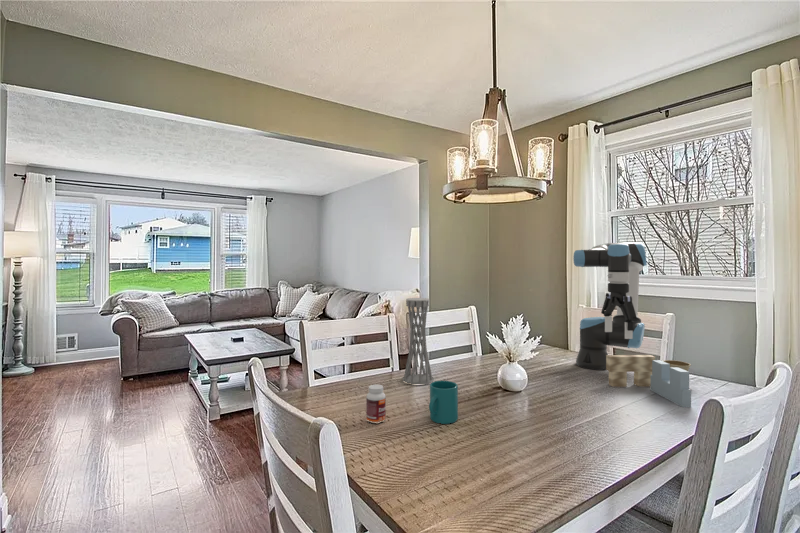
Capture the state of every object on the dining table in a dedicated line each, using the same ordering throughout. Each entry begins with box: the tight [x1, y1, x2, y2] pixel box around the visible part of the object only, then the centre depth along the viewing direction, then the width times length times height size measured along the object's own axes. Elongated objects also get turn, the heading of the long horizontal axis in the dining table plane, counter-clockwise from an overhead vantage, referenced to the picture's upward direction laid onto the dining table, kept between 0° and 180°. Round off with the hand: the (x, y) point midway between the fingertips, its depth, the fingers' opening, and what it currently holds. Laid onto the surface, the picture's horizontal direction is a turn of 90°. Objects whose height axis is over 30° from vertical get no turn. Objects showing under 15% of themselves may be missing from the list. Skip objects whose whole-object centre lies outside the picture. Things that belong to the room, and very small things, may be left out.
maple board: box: [605, 354, 656, 388], centre depth 163 cm, size 18×3×12 cm, turn 89°
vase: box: [401, 297, 435, 385], centre depth 171 cm, size 14×13×35 cm
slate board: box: [650, 359, 692, 408], centre depth 148 cm, size 18×3×12 cm, turn 179°
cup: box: [428, 380, 459, 425], centre depth 129 cm, size 9×12×11 cm
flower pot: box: [662, 359, 692, 372], centre depth 165 cm, size 9×9×9 cm
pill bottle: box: [365, 384, 387, 422], centre depth 129 cm, size 6×6×11 cm
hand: (618, 335), depth 162 cm, fingers open, 13 cm apart
